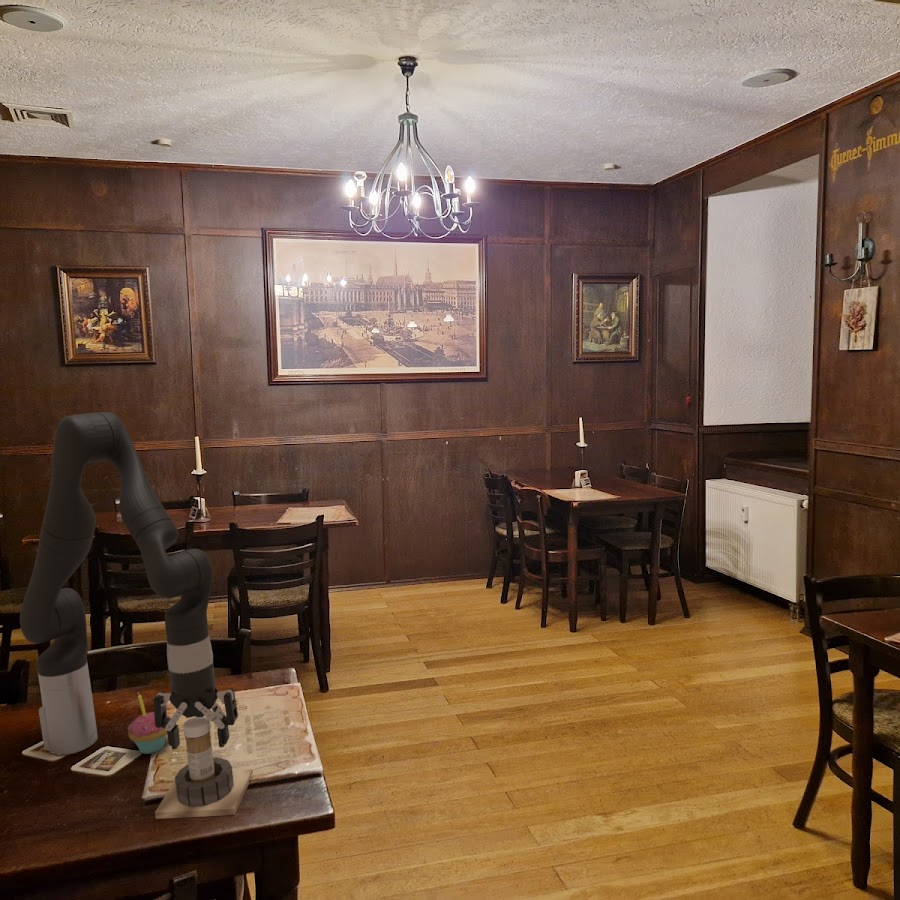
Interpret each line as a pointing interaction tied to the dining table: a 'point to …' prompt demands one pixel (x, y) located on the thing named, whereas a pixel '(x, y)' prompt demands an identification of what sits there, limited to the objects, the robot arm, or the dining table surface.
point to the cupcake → (147, 732)
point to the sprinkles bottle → (199, 749)
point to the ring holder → (205, 793)
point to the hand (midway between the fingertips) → (199, 746)
